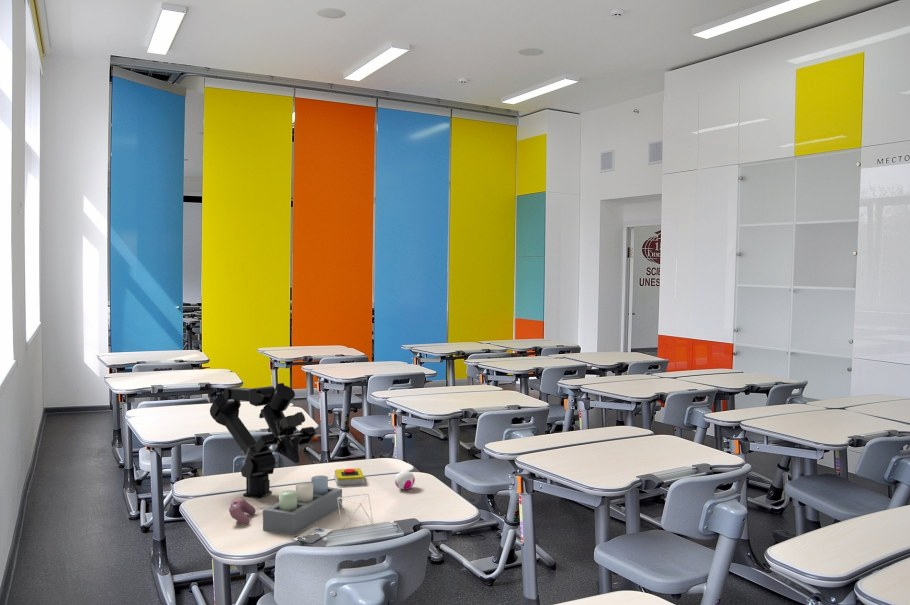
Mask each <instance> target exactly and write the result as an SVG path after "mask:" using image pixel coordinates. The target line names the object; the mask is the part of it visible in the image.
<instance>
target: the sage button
mask: <svg viewBox="0 0 910 605" xmlns="http://www.w3.org/2000/svg"><path fill="white" fill-rule="evenodd" d="M278 495H279V496H278V500H279V501H278V502H279V510H282V511H289V512H292V511H294V510H296V509H297V491H296V490H293V489H292V490H291V489H287V490H281V491H280V492H279V493H278Z"/></svg>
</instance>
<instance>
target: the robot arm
mask: <svg viewBox="0 0 910 605" xmlns="http://www.w3.org/2000/svg"><path fill="white" fill-rule="evenodd" d="M294 398H296V393H295V391H294V389H292V388H291V387H290V386H287V385H285V384H284V382H280V383H279V382H278V383H277V384H276V386H275V387H274V386H272V385H269V386H262V387H254V388H251V387H249V388H248V387H240V386H231V387H226V388H224V389H223V392H221V394H219V396H217V397H216V398H215V399H214V400H213V402H212V404H211V405H210V408H209V414H210V416H211V418H212V419H213V420H214V421H215V423H217V424H219V425H221V426H223V427H226V428H225V429H227V431H228V432H229V434H230V435H231V436H232V438H233V439H234V441H235V442H236V444H237V445H238V447H239V448H240V449H241V451H242V452H243V454H244V456H245V458H244V464H243V466H242V467H241V469H240V471H241V472H240V473H241V477H243V478H245V479H246V480H245V481H246V485H245V486H246V492H245V493H243V494H242V496H244V497H249V496H250V498H256V499H259V498H262V497H265V496H267V495H269V494H271V493H272V492H273V491H272V490H270V486H271V485H270V484H271V483H270V479H269V478H270V476H269V475H273V474H274V469H275V465H276V458H275V455H274V454H273V452H274V453H279V454H280V455H282V456H284V457H286V458H287V460H288V459H289V460H290V461H291V462H293V463H294V464H299V463H300V453H299V452H300V451H299V446H304V445H307V444H309V443H311V441H313V439H314V437H315V436H316V434H317V431H316V429H315V427H313V426H307V427H302V428H301V429H300V430H299V432H297V433H294V432H296V431H297V429H298V428H297V427H299V426H302V425H303V423H304V422H306V416H305V415H304V413H303V412H302V411H299V412H296V413H295V414H291V415H287V416H286V415H285V413H284V411H286V410H287V409H288V407H289V406H290V405H291V403H292V401H293V400H294ZM241 401H242V402H248V403H249V404H250V405H251V406H254V407H263V408H261V409H260V413H259V415H258V417H259V419H264V421H265V423H266V424H267V426H268V429H267V432H268V433H267V434H262V435H260V436H259V438H258V439H257V441H256V439H255V438H254V437H253V435H252V434H251V432H250V431H249V430H248V427H246V425H245V424H244V423H243V421H242V420H241V419H240V417H239V415H240V407H241V405H242V404H241ZM269 446H275V449H274V451H272V449H270V447H269Z"/></svg>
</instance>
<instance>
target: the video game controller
mask: <svg viewBox="0 0 910 605" xmlns="http://www.w3.org/2000/svg"><path fill="white" fill-rule="evenodd" d="M228 512H229V514H230V516H231V518H232V519H233V520H235V521H236V522H237V523H240V524H242V525H244V526H245V525H246V526H247V525H249V523H250V522H251V521H250V518H249V516H247V515H252V516H253V515H255V514H256V508H255V507H254V506H253V505H252V504H250V503H249V502H248V501H247V500H246V499H245V498H243V497H240V498H239V497H238V498H235V499H233V500H232V501H231V503H230V506H229V507H228ZM245 513H246V514H247V515H246V514H245Z"/></svg>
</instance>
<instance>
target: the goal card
mask: <svg viewBox="0 0 910 605" xmlns="http://www.w3.org/2000/svg"><path fill="white" fill-rule="evenodd" d="M333 531H334V530H333V529H331V528H330V529H329V528H323V527H322V528H321V527H316V526H314V527H312V528H309V529H308V530H307V531H305V532H303V533H301V534H299V535H297V536H296V537H294V538H293V539H292V541H294V542H298V541H297V540H298V539H297V538H298V537H302V539H304V540H306V539H307V538H308V537H304V538H303V536H307V535H314V534H325V533H329V532H331V533H332V532H333ZM329 534H330V533H329ZM307 540H308V539H307Z"/></svg>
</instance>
